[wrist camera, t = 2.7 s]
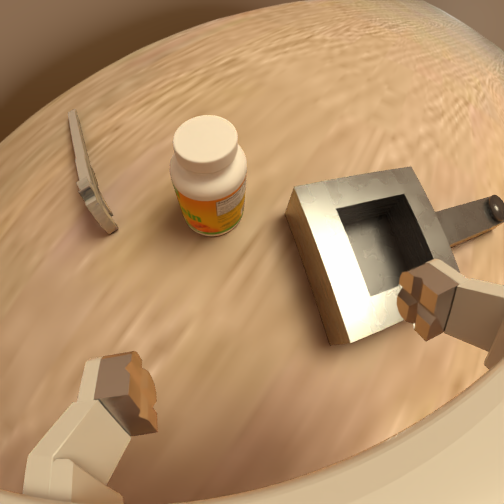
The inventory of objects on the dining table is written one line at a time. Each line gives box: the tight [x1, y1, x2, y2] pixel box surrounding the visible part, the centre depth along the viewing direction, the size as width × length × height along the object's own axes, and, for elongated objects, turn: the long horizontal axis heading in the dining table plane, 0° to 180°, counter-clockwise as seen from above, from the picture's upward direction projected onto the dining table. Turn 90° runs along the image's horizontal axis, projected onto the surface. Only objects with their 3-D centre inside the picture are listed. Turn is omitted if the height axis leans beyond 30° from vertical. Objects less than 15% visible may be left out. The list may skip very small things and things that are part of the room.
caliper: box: [68, 109, 118, 234], centre depth 25 cm, size 20×1×6 cm, turn 32°
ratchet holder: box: [285, 167, 504, 346], centre depth 24 cm, size 27×12×4 cm, turn 106°
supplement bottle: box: [170, 115, 247, 236], centre depth 21 cm, size 5×5×10 cm
